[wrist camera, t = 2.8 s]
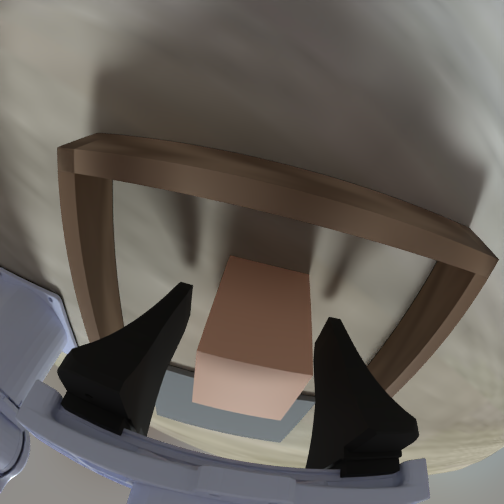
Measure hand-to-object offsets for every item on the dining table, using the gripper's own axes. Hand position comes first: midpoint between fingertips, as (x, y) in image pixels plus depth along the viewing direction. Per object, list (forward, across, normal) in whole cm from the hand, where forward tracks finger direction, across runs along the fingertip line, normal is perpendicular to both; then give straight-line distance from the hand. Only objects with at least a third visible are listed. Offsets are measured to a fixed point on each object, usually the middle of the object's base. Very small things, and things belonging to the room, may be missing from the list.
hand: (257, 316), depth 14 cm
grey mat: (+2, 0, +14) cm, 14 cm away
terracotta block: (+2, 0, 0) cm, 2 cm away
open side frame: (+2, 0, 0) cm, 2 cm away
